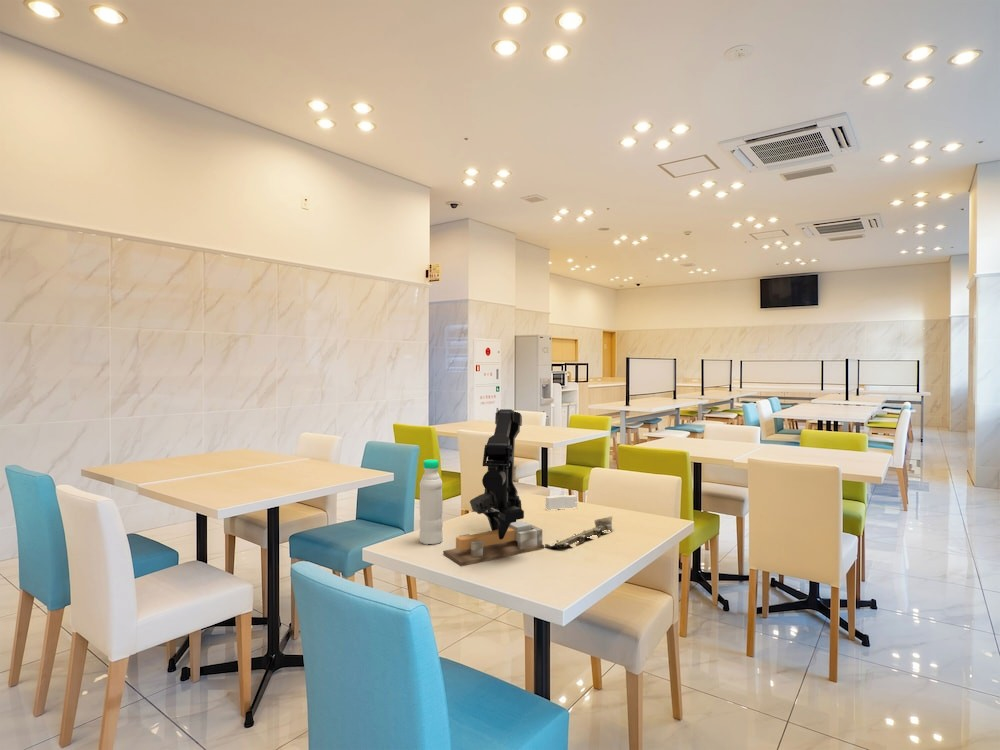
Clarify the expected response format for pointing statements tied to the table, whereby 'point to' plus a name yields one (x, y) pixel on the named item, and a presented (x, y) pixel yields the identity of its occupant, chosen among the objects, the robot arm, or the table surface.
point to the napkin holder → (561, 502)
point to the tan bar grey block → (492, 536)
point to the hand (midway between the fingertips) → (498, 537)
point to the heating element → (586, 533)
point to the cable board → (497, 548)
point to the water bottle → (431, 504)
